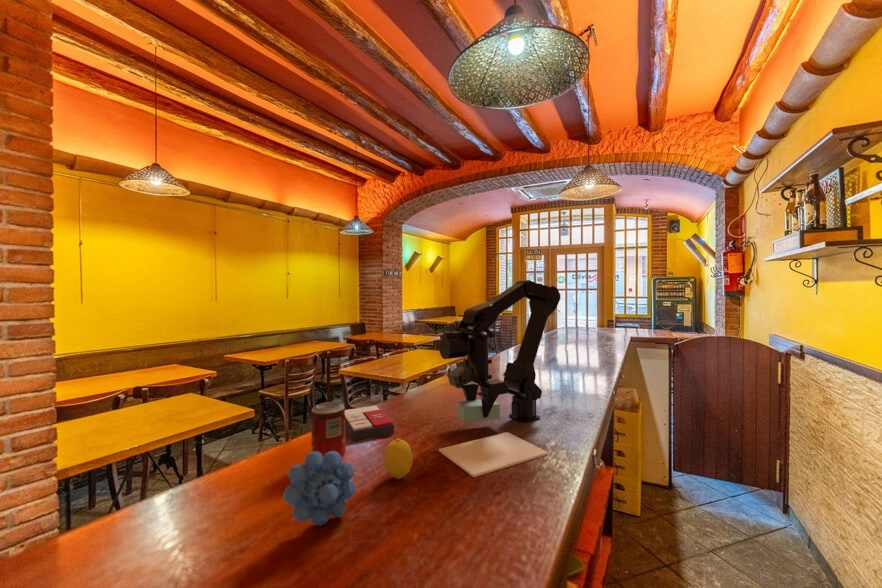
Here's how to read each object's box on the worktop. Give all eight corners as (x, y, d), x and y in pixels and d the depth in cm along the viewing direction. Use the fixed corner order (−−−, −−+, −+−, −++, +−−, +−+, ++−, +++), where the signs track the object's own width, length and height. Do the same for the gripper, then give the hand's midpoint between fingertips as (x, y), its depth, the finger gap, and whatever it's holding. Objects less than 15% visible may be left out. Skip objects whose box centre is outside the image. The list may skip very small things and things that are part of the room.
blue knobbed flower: (294, 555, 53) (292, 470, 53) (279, 532, 59) (277, 455, 58) (368, 522, 61) (366, 447, 61) (348, 504, 66) (347, 435, 66)
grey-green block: (491, 412, 105) (491, 398, 105) (499, 419, 100) (499, 404, 100) (457, 416, 102) (456, 401, 102) (463, 423, 97) (463, 407, 97)
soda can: (352, 459, 83) (351, 404, 83) (323, 472, 78) (322, 412, 77) (333, 451, 88) (332, 398, 87) (305, 462, 82) (304, 406, 82)
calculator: (352, 429, 93) (339, 408, 106) (352, 446, 93) (339, 423, 106) (394, 421, 98) (377, 403, 111) (394, 437, 98) (377, 417, 111)
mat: (507, 433, 97) (507, 431, 97) (547, 454, 85) (547, 452, 85) (438, 451, 87) (438, 449, 87) (473, 477, 75) (473, 474, 75)
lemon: (417, 474, 76) (416, 435, 76) (405, 488, 71) (405, 445, 71) (392, 470, 78) (391, 431, 78) (379, 483, 73) (378, 442, 73)
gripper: (434, 353, 105) (434, 409, 105) (472, 364, 89) (472, 431, 89) (467, 349, 110) (468, 403, 111) (509, 359, 94) (510, 422, 94)
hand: (478, 413), depth 101 cm, fingers closed on grey-green block, 6 cm apart
